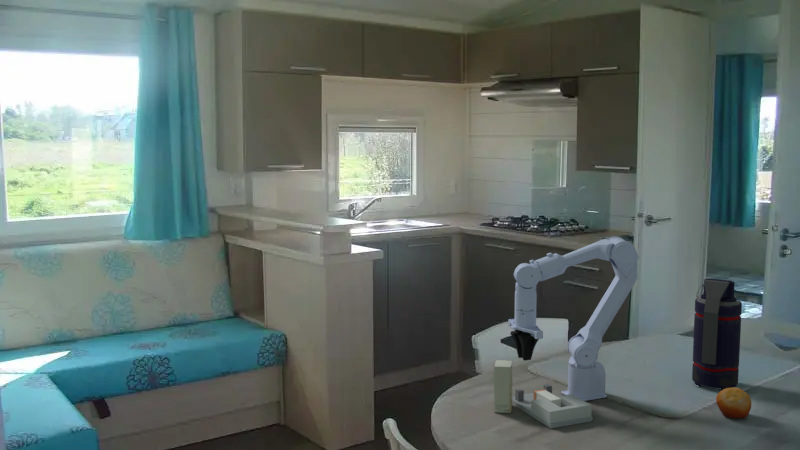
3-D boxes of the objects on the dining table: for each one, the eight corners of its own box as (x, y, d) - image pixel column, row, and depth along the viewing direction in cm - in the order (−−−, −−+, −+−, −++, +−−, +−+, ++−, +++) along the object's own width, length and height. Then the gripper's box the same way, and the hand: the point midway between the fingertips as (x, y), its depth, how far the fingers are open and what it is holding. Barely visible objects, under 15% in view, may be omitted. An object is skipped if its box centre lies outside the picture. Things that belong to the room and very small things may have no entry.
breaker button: (544, 399, 205) (544, 389, 205) (561, 409, 198) (561, 398, 198) (533, 401, 204) (533, 390, 204) (550, 411, 197) (550, 400, 196)
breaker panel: (545, 394, 213) (546, 379, 212) (592, 421, 193) (592, 405, 193) (507, 400, 208) (507, 385, 208) (550, 428, 189) (550, 412, 188)
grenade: (698, 375, 227) (702, 273, 223) (742, 383, 220) (747, 278, 216) (684, 389, 216) (688, 281, 212) (730, 397, 209) (735, 286, 205)
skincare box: (511, 413, 199) (511, 367, 197) (493, 412, 200) (493, 366, 198) (512, 405, 205) (513, 360, 203) (495, 404, 206) (495, 359, 204)
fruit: (748, 404, 200) (751, 383, 195) (750, 429, 194) (753, 408, 189) (714, 400, 203) (716, 380, 198) (715, 425, 197) (717, 404, 192)
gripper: (498, 304, 213) (498, 353, 215) (526, 316, 200) (525, 368, 202) (521, 302, 216) (520, 350, 218) (550, 313, 203) (549, 364, 205)
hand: (524, 358), depth 210 cm, fingers closed
